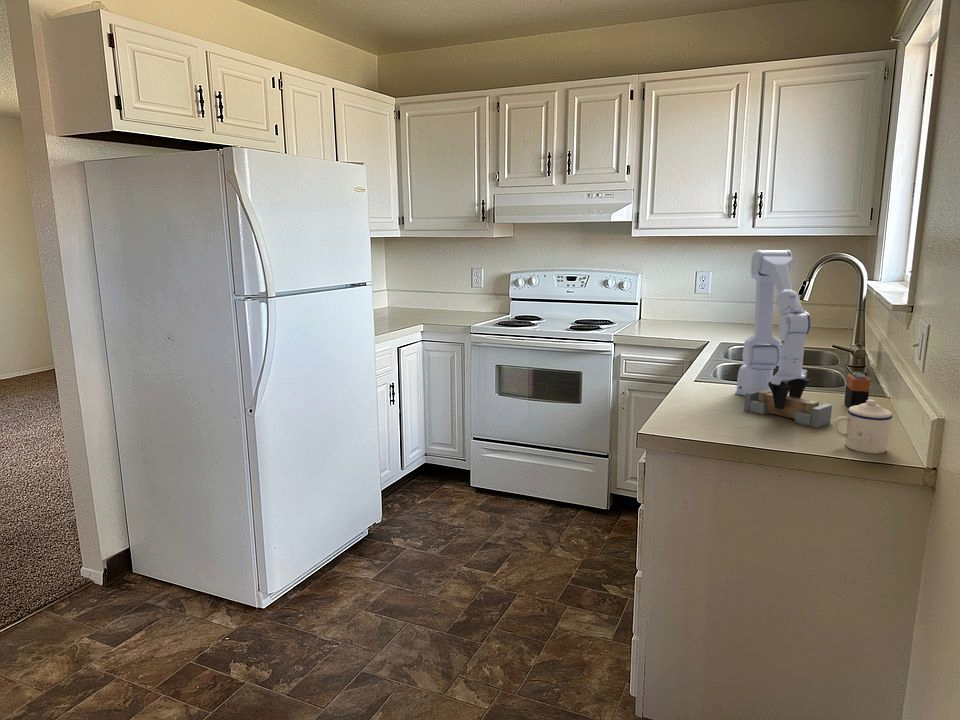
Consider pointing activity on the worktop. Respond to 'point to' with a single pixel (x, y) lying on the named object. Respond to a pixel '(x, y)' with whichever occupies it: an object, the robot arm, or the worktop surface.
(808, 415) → the post slots
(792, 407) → the rail
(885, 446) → the teacup with lid
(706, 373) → the worktop surface
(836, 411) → the worktop surface
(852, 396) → the battery
